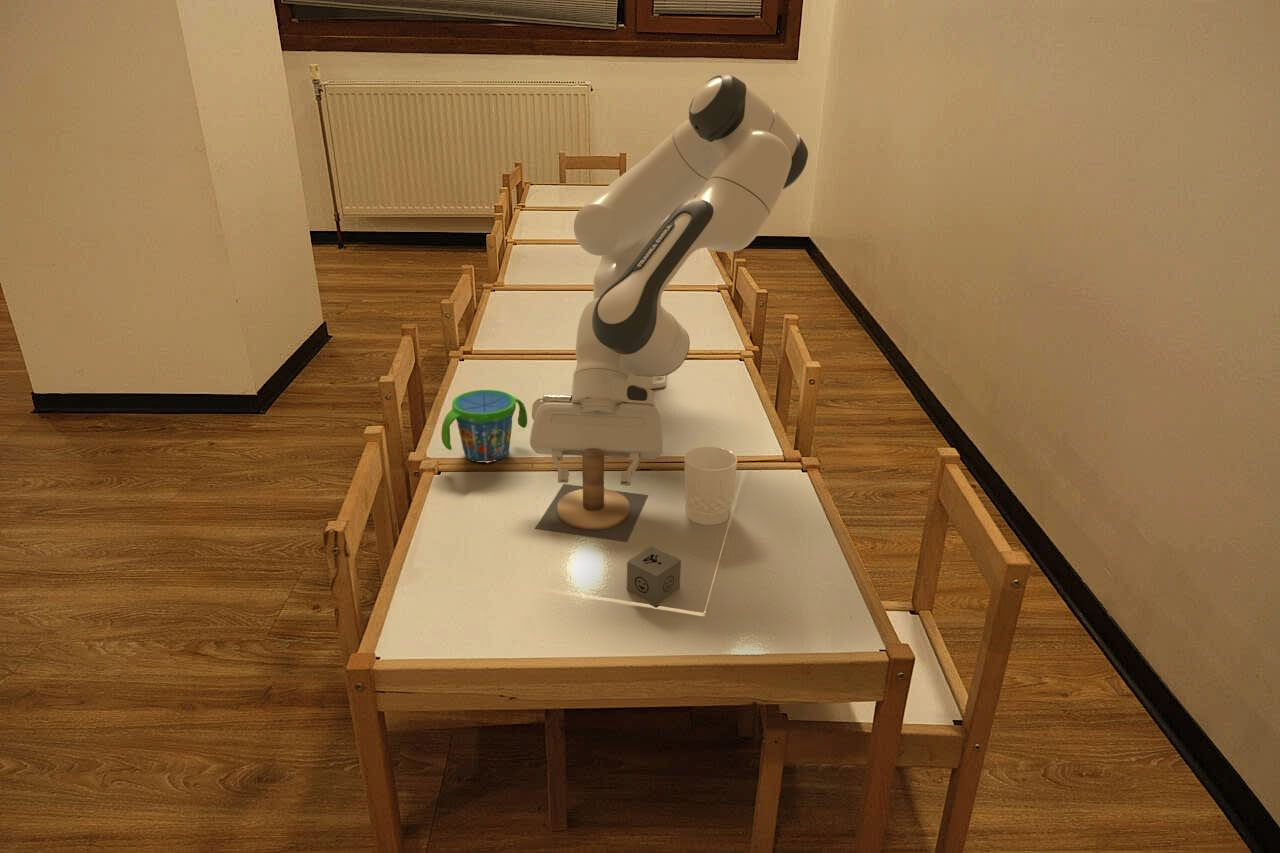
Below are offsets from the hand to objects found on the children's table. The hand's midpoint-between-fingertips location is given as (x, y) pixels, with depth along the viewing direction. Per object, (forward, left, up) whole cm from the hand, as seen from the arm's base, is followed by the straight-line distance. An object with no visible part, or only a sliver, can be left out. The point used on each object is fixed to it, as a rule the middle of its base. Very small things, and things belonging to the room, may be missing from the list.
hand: (594, 483), depth 134 cm
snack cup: (-15, -23, -6) cm, 28 cm away
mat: (-1, 0, -6) cm, 6 cm away
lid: (-1, 0, -5) cm, 5 cm away
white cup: (-5, +17, -6) cm, 18 cm away
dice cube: (+17, +13, -6) cm, 22 cm away
